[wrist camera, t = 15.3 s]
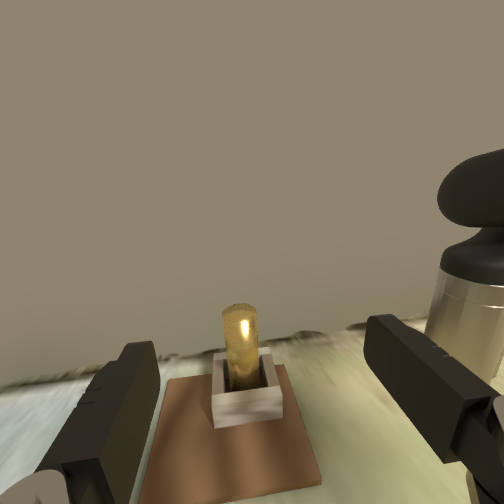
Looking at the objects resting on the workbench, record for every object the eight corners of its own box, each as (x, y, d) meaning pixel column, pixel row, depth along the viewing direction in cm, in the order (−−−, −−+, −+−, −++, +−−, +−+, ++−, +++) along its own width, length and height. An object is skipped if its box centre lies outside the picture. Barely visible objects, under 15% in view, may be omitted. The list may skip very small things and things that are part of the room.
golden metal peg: (258, 379, 37) (254, 302, 33) (262, 405, 33) (258, 320, 29) (230, 383, 37) (222, 305, 32) (231, 409, 33) (222, 324, 28)
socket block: (283, 368, 41) (283, 344, 39) (321, 484, 25) (323, 453, 24) (170, 384, 39) (165, 359, 37) (137, 519, 23) (126, 487, 22)
